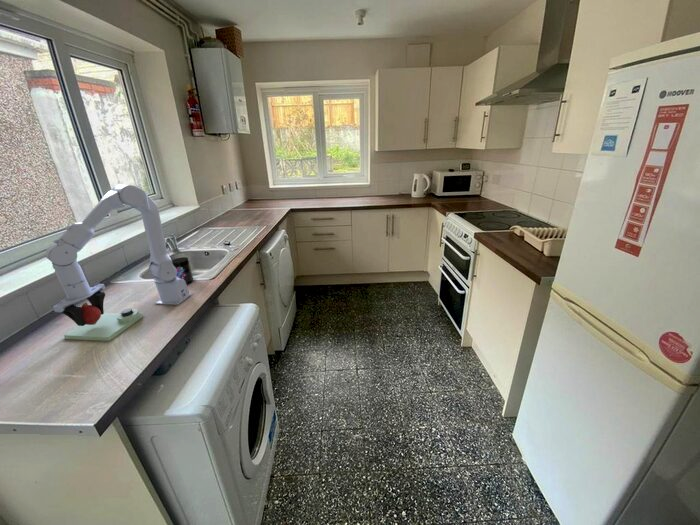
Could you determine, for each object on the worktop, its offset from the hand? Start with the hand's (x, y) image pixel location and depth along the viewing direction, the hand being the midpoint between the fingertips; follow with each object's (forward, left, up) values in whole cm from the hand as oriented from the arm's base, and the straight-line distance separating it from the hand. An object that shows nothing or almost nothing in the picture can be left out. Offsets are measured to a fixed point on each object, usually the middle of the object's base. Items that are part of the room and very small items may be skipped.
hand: (91, 319), depth 93 cm
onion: (0, 0, -2) cm, 2 cm away
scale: (-2, -2, -4) cm, 5 cm away
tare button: (-8, -5, -2) cm, 9 cm away
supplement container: (-7, -36, -4) cm, 36 cm away
